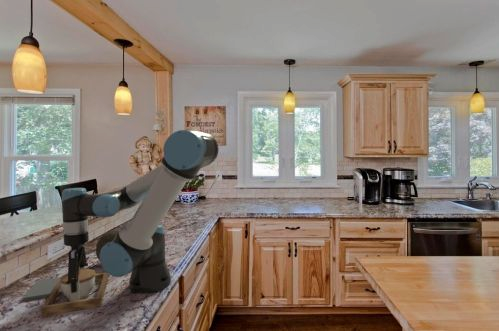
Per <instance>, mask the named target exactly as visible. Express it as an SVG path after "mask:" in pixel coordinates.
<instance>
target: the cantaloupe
mask: <svg viewBox="0 0 499 331" xmlns="http://www.w3.org/2000/svg"><path fill="white" fill-rule="evenodd" d="M118 232H119V230H110V231H107V232H105V233H104V234H102V235H101V236H100V238H98V241H97V242H96V246H95V247H96V248H95V254H96V258H97V260H98V261H99V263H101V261H100V251H101V249H102V247H103V246H104V245H106V244H107V243H108V242H112V241H113V240H114V238H115V236H116V235H117V233H118Z"/></svg>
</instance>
